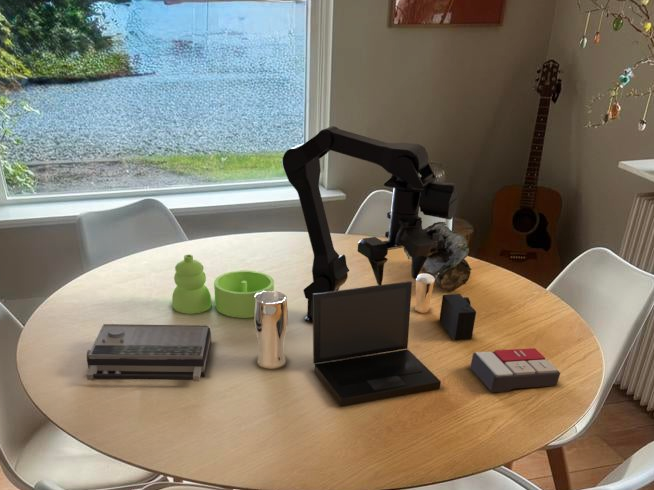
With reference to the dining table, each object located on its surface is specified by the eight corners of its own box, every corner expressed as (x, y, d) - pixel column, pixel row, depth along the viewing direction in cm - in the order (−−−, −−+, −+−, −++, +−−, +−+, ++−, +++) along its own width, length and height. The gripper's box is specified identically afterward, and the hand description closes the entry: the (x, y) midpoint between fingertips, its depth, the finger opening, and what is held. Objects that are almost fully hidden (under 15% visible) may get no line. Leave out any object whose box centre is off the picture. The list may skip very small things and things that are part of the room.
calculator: (562, 370, 149) (496, 374, 146) (556, 388, 152) (491, 392, 148) (536, 345, 158) (473, 349, 154) (531, 363, 160) (469, 367, 157)
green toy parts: (273, 293, 187) (273, 245, 180) (274, 317, 176) (274, 267, 168) (175, 293, 186) (171, 245, 178) (170, 318, 174) (165, 267, 167)
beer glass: (263, 372, 154) (262, 306, 145) (250, 358, 159) (248, 293, 150) (292, 365, 156) (293, 300, 147) (278, 352, 161) (278, 288, 152)
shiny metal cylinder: (433, 315, 178) (438, 276, 172) (411, 312, 179) (416, 274, 173) (434, 307, 182) (439, 269, 176) (413, 305, 183) (417, 267, 177)
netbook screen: (412, 281, 152) (410, 280, 152) (314, 294, 145) (312, 293, 146) (407, 348, 160) (406, 347, 160) (314, 364, 153) (313, 362, 154)
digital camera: (476, 339, 168) (481, 311, 164) (454, 340, 167) (459, 312, 163) (460, 319, 176) (464, 292, 172) (439, 321, 175) (442, 294, 171)
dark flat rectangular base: (439, 389, 149) (441, 380, 148) (341, 406, 143) (341, 398, 142) (407, 356, 161) (407, 348, 160) (314, 371, 154) (314, 363, 153)
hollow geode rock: (453, 316, 189) (499, 276, 183) (422, 285, 182) (470, 242, 177) (426, 272, 211) (467, 235, 205) (398, 243, 204) (439, 204, 199)
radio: (210, 320, 161) (200, 364, 145) (211, 342, 164) (202, 387, 148) (99, 319, 161) (78, 362, 145) (103, 341, 164) (82, 385, 148)
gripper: (388, 228, 142) (380, 302, 152) (464, 216, 150) (452, 288, 159) (359, 211, 150) (353, 283, 160) (432, 201, 157) (423, 270, 167)
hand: (396, 281), depth 161 cm, fingers open, 9 cm apart
